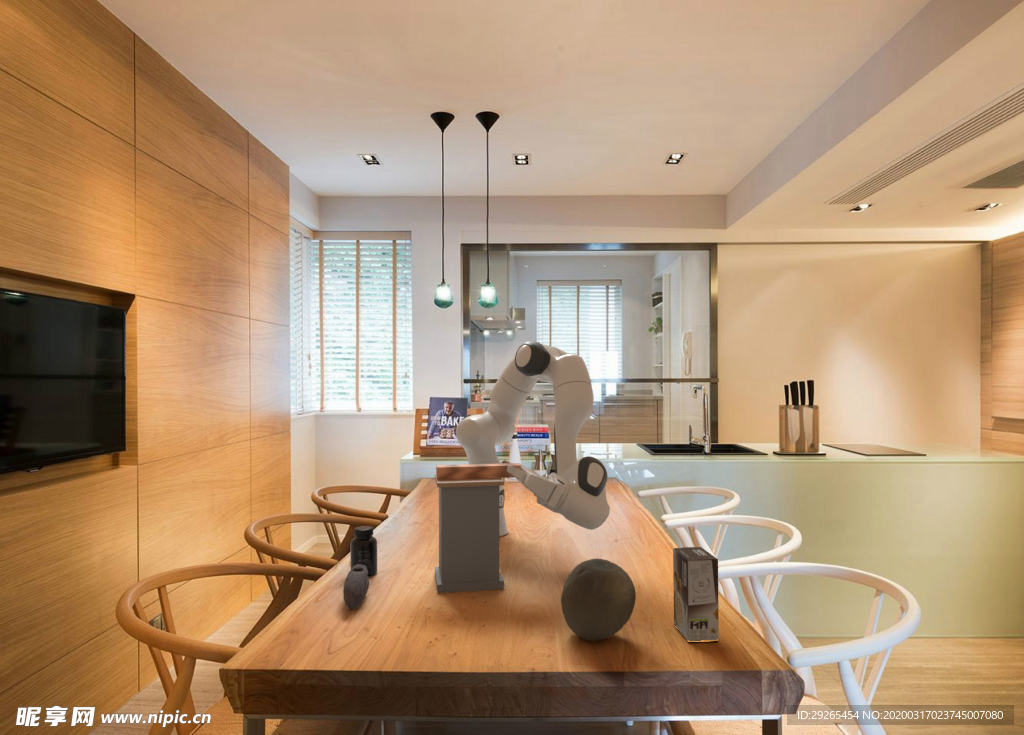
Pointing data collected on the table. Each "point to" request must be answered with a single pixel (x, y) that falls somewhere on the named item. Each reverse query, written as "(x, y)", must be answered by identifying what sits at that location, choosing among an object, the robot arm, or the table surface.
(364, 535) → the supplement bottle
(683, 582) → the coffee box
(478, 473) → the bar
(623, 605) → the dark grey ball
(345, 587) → the perforated stone tool
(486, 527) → the stand
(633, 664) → the table surface
